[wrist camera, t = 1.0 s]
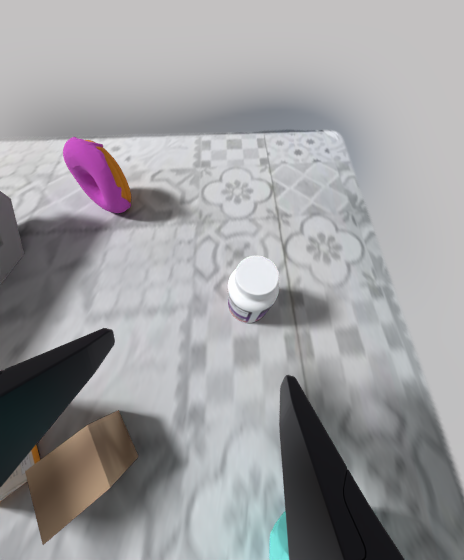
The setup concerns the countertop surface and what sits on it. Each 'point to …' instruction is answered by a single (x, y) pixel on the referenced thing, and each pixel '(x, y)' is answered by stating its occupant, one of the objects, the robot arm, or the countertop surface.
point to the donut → (97, 174)
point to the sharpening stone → (8, 238)
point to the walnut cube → (79, 472)
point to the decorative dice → (279, 540)
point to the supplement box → (19, 474)
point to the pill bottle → (253, 288)
